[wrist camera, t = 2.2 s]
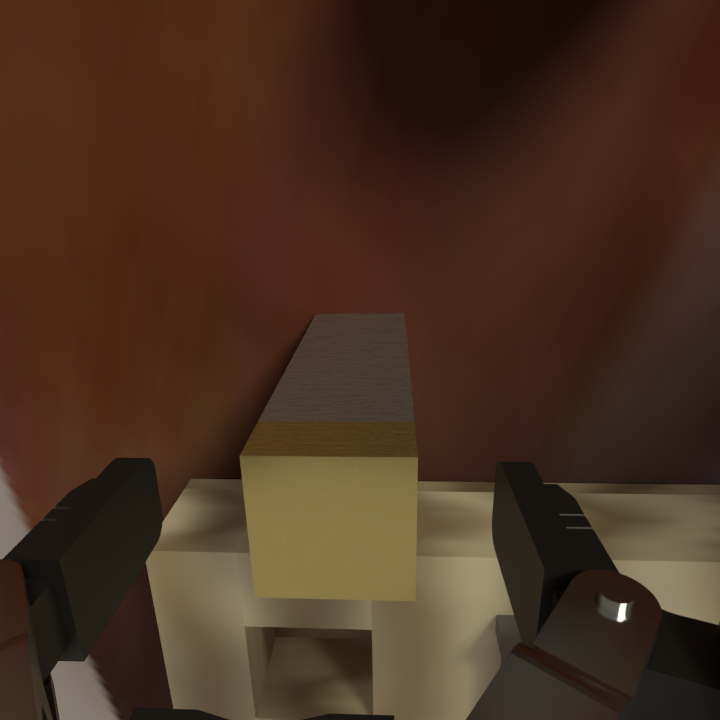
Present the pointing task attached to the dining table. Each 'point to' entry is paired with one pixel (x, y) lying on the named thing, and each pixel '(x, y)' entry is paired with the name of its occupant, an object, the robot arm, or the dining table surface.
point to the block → (395, 603)
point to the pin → (336, 467)
